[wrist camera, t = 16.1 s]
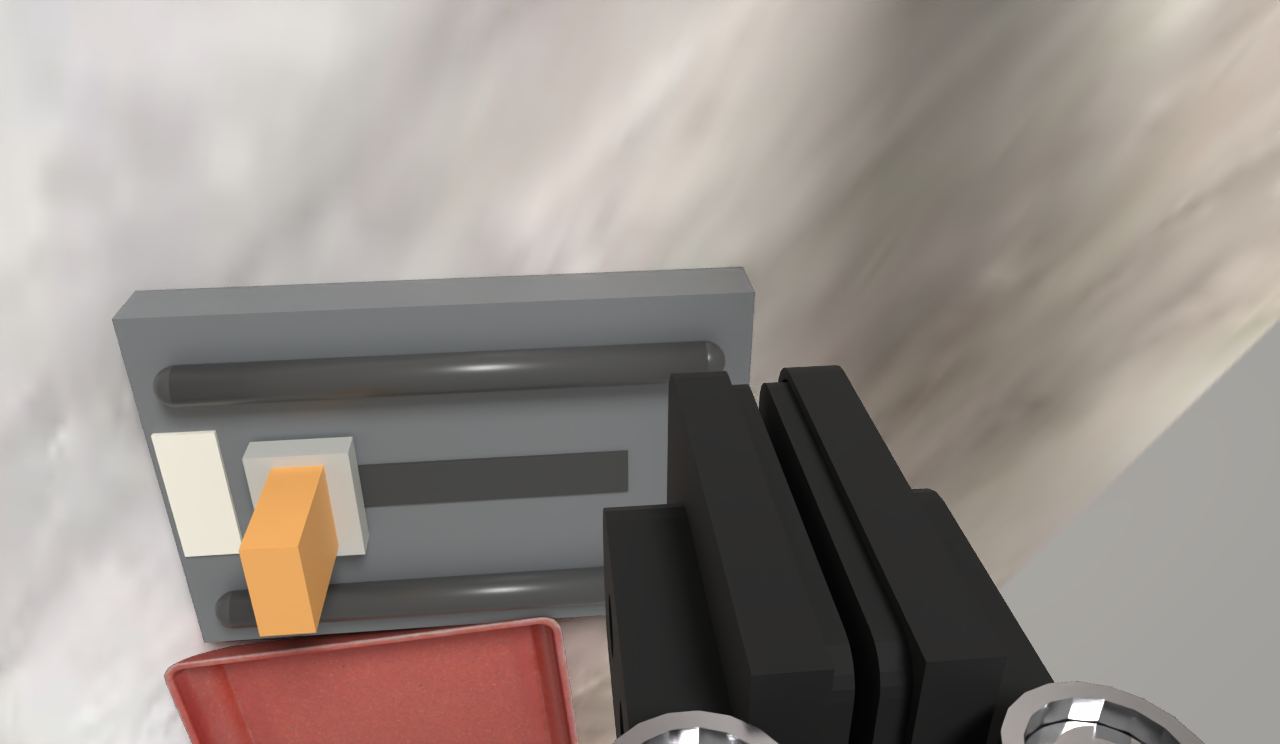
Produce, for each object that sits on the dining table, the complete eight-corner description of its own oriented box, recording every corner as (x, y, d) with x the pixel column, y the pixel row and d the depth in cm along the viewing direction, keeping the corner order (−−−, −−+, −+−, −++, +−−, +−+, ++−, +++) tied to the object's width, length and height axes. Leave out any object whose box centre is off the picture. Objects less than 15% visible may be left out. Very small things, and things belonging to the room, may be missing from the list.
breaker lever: (352, 436, 40) (325, 533, 34) (369, 536, 42) (346, 640, 37) (249, 441, 39) (205, 540, 34) (272, 542, 42) (234, 648, 36)
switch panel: (742, 267, 41) (763, 309, 37) (726, 570, 49) (742, 630, 45) (135, 291, 39) (95, 338, 35) (219, 604, 47) (193, 668, 43)
